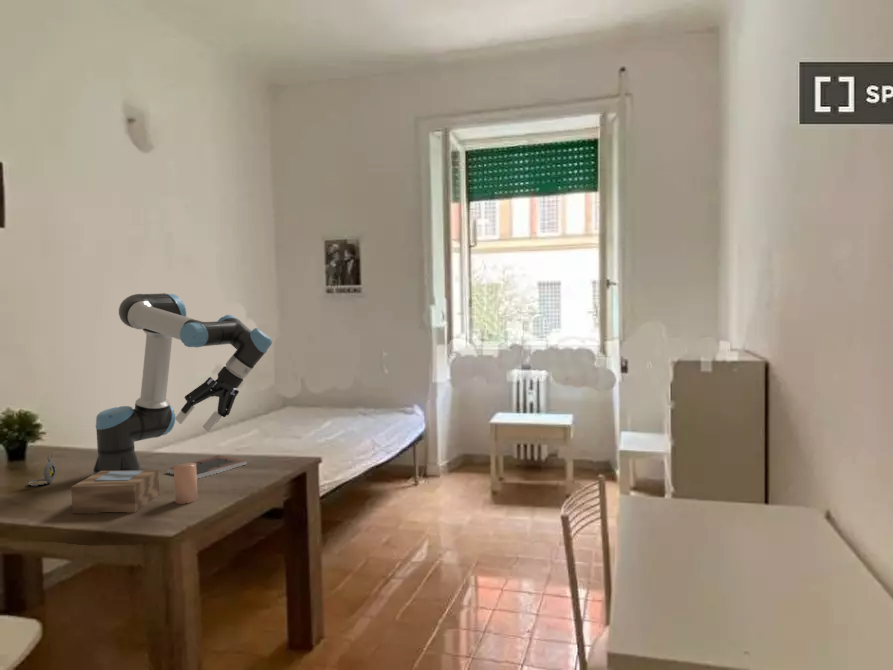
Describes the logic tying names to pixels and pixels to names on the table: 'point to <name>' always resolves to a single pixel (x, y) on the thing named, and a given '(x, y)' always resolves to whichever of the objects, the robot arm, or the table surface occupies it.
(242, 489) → the table surface
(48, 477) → the pocket watch
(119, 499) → the walnut box
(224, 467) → the picture frame
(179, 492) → the terracotta cylinder
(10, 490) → the table surface
